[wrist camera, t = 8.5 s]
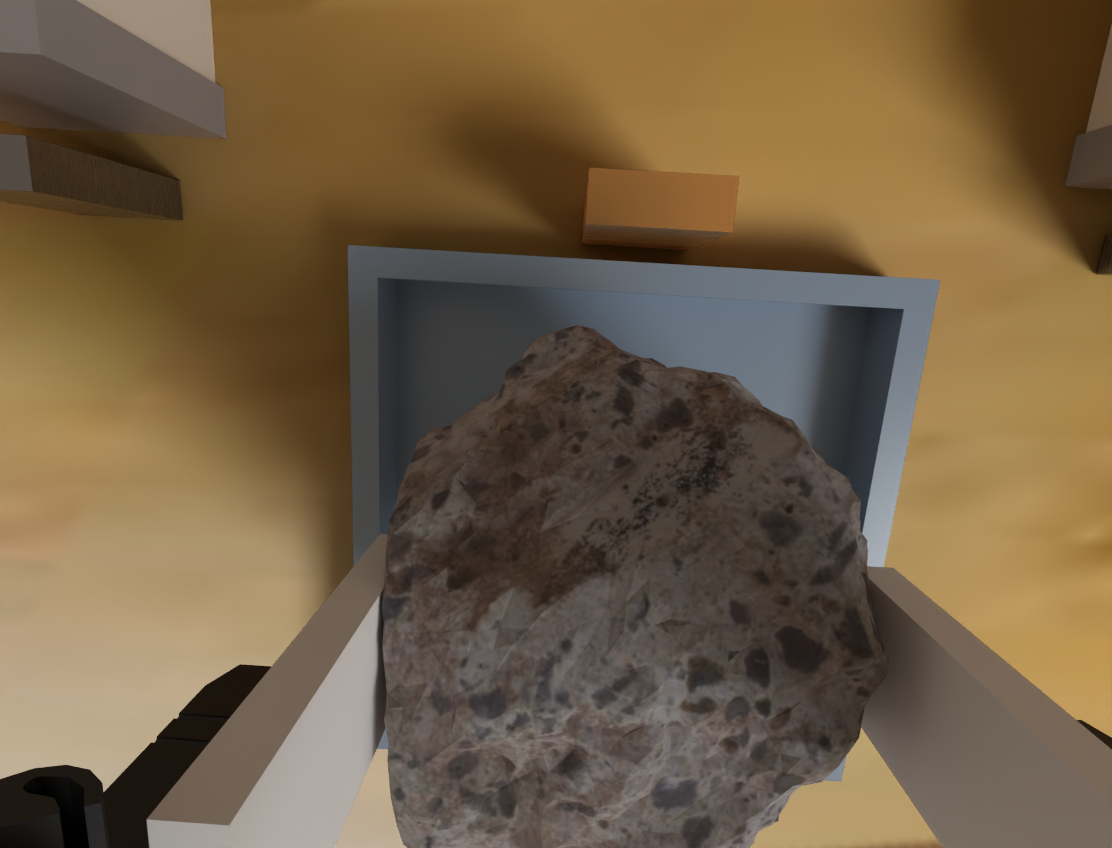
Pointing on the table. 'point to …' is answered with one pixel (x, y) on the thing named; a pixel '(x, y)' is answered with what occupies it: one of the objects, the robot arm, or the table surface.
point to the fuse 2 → (1096, 136)
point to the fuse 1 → (110, 67)
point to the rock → (619, 612)
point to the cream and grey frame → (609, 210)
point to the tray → (645, 331)
